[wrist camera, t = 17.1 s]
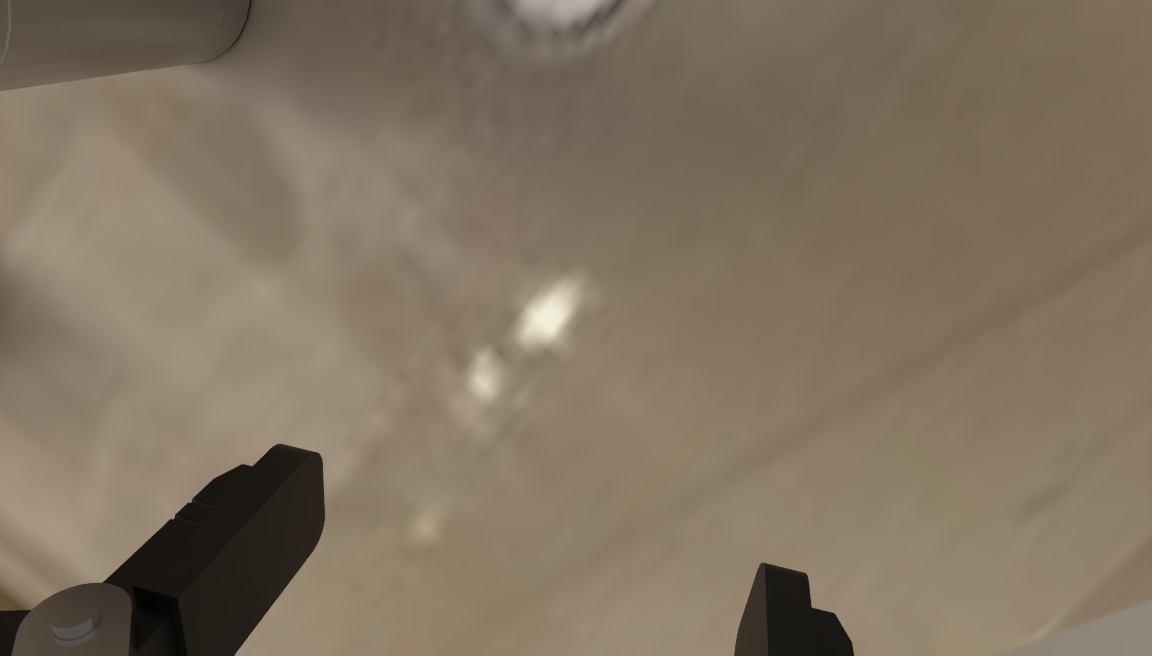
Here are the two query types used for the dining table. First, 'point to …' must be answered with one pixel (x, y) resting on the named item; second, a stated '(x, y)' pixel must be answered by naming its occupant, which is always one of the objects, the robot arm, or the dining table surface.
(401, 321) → the dining table surface
